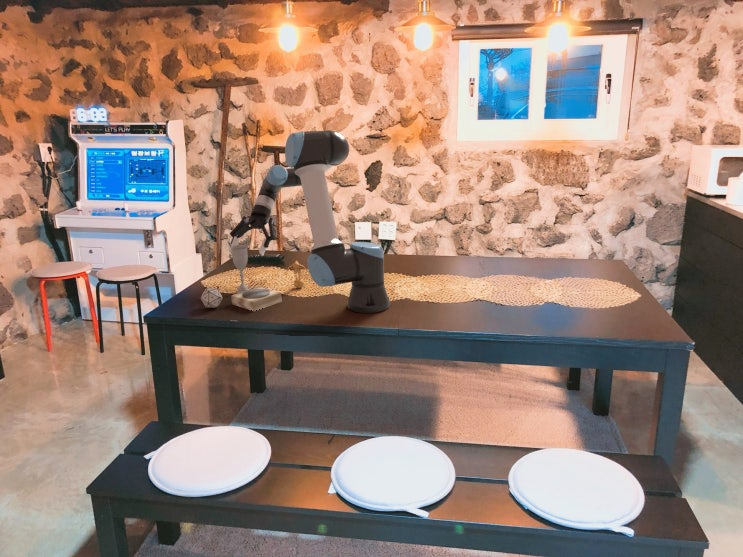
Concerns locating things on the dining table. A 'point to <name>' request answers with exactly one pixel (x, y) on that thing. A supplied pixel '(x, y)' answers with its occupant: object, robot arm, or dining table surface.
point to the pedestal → (256, 298)
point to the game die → (211, 297)
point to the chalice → (240, 263)
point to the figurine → (298, 282)
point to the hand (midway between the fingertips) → (246, 253)
